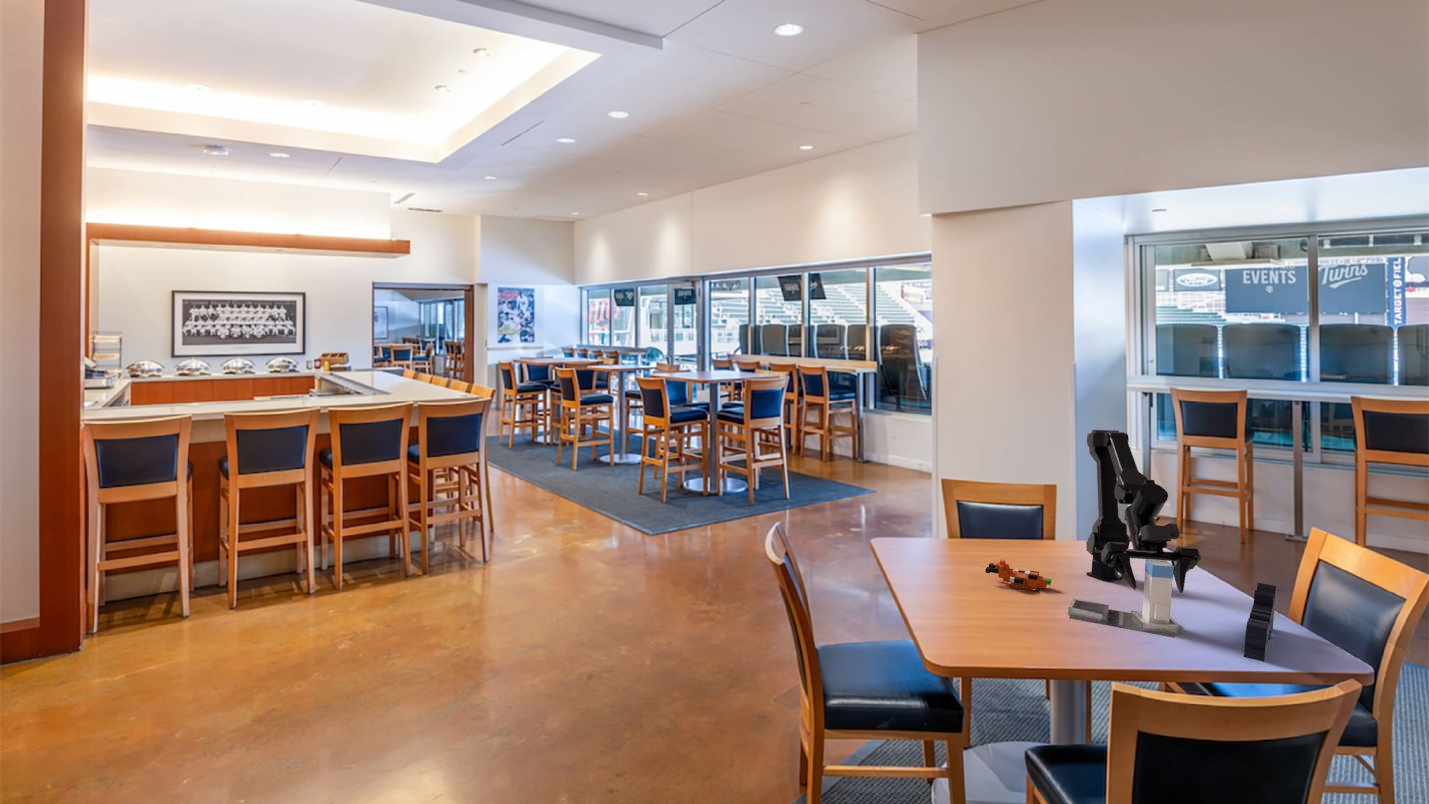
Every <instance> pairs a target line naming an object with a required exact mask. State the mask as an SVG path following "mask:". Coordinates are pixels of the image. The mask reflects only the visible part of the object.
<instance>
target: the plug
mask: <svg viewBox="0 0 1429 804" xmlns="http://www.w3.org/2000/svg"><path fill="white" fill-rule="evenodd" d="M1144 560H1145V563H1144V582H1143V594H1142V595H1143V596H1142V597H1143V598H1142V611H1141V612H1142V619H1143V620H1144V621H1145V622H1148V623H1160V624H1169V621H1170V616H1171V603H1172V591H1173V590H1172V589H1173V579H1174V575H1173V570H1174V566H1172V563H1171V562H1169V561H1164V560H1149V559H1144Z"/></svg>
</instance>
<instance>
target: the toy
mask: <svg viewBox="0 0 1429 804" xmlns="http://www.w3.org/2000/svg"><path fill="white" fill-rule="evenodd" d="M985 574H997V575H998V578H999V579H1002V581H1003V582H1007V583H1011V584H1010V586H1011V587H1014V586H1015V588H1020V589H1025V588H1026V590H1031V589H1035V590H1034V591H1038V588H1043V589H1046V588H1047V586H1050V585H1051V584H1052V578H1050V577H1049V578H1048V577H1044V576H1043V575H1040V571H1035V570H1020V569H1014V568H1011V567H1010V564H1009V563H1006V559H1002V558H1000V561H998V562H995V563H994V562H993V563H992V562H990V563H989V564H988V566H986V568H985Z"/></svg>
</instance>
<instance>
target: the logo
mask: <svg viewBox="0 0 1429 804" xmlns="http://www.w3.org/2000/svg"><path fill="white" fill-rule="evenodd" d="M1276 594H1277V585H1273V584H1272V585H1271V584H1267V583H1261V582H1257V584H1256V589H1254V596H1253V604H1252V608H1251V611H1250V613H1249V617H1248V618H1247V621H1246V626H1245V627H1246V628H1245V634H1244V635H1245V636H1244V649H1243V658H1248V659H1251V660H1256V661H1259V662H1265V661H1266V656H1267V654H1268V653H1267V652H1268V648H1269V645H1270V640H1271V637H1272V636H1271V635H1272V630H1273V629H1274V619H1275V617H1274V616H1275V605H1276Z"/></svg>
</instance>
